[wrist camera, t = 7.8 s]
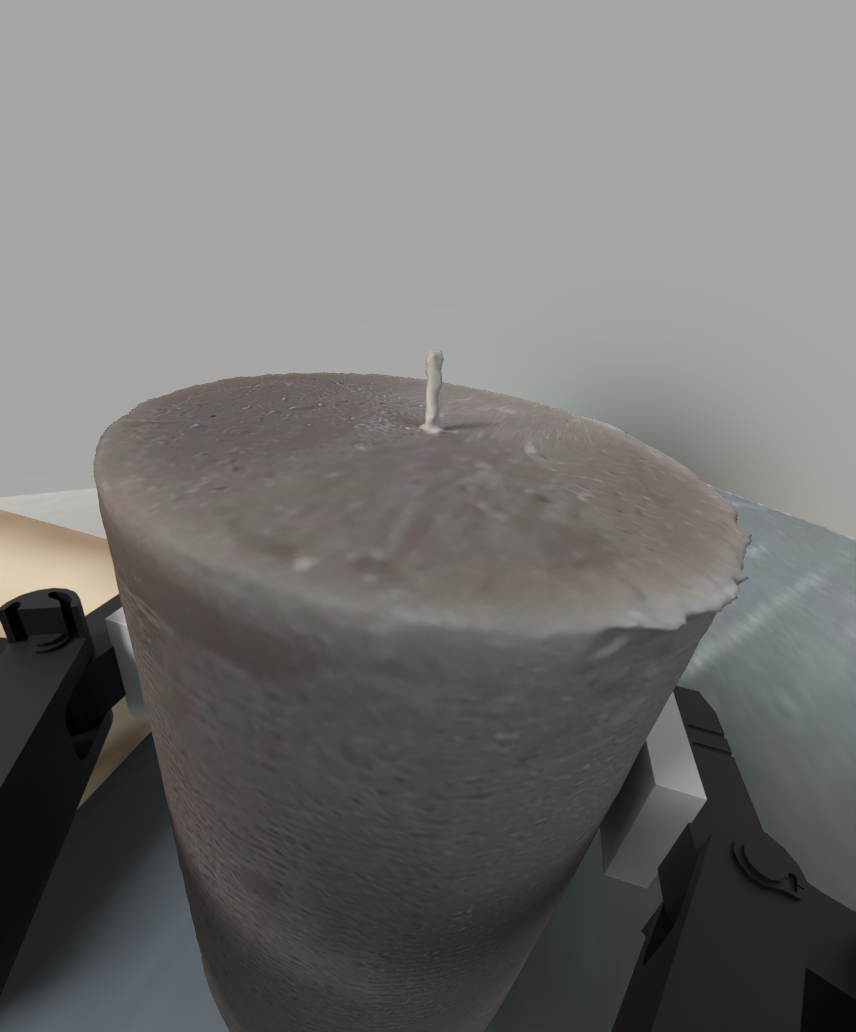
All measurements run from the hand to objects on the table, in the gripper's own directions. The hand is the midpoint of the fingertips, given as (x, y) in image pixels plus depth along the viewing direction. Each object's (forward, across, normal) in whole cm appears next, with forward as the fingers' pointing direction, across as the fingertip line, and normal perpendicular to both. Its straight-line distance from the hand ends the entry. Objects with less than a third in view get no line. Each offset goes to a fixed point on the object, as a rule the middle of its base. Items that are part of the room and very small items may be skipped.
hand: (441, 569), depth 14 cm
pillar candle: (-4, 0, -8) cm, 9 cm away
